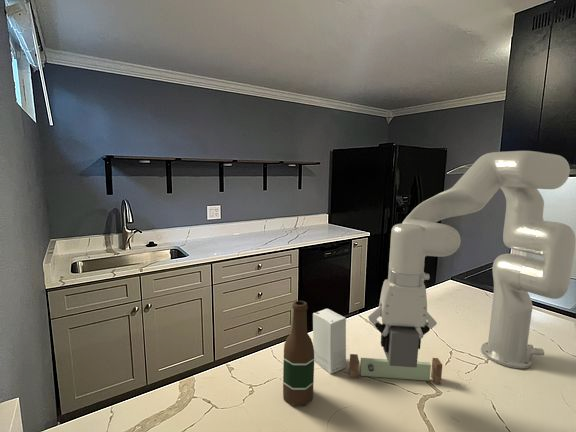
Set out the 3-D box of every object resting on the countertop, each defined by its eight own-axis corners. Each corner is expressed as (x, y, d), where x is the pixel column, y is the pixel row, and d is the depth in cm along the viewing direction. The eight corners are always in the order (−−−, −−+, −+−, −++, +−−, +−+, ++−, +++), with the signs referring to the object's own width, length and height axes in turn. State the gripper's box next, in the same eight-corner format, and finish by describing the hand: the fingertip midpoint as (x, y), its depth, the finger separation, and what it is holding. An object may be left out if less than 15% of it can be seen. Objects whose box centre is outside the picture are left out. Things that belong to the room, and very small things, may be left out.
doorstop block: (407, 350, 77) (410, 320, 76) (416, 367, 70) (419, 334, 69) (383, 348, 78) (385, 318, 77) (389, 365, 71) (392, 332, 70)
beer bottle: (289, 412, 70) (291, 312, 67) (277, 390, 78) (278, 298, 74) (319, 402, 74) (322, 306, 70) (304, 382, 81) (307, 294, 77)
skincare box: (346, 368, 87) (348, 318, 85) (329, 375, 84) (332, 323, 82) (326, 353, 94) (328, 307, 92) (310, 359, 91) (312, 311, 88)
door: (427, 377, 83) (429, 362, 82) (430, 383, 81) (432, 367, 80) (360, 372, 85) (360, 357, 84) (361, 378, 82) (362, 362, 82)
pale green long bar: (436, 376, 84) (437, 358, 83) (440, 384, 81) (442, 364, 80) (349, 370, 86) (350, 352, 85) (350, 377, 83) (351, 358, 82)
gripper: (437, 274, 74) (431, 344, 77) (364, 270, 76) (360, 339, 78) (451, 285, 67) (443, 362, 69) (370, 281, 68) (365, 356, 71)
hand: (399, 349), depth 74 cm, fingers closed on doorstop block, 6 cm apart
